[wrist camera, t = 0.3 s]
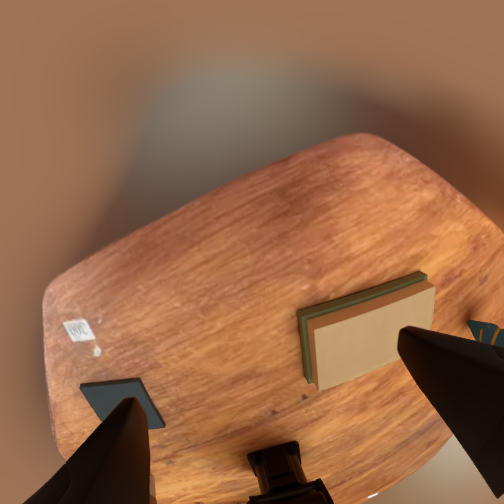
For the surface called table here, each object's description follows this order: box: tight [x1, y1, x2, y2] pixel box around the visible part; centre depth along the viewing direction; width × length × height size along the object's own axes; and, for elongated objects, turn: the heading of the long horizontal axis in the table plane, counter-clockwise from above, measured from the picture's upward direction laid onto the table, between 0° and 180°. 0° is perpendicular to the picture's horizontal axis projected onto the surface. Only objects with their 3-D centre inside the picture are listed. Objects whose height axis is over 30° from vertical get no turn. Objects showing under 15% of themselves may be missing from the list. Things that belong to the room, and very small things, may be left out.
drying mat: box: [79, 378, 165, 429], centre depth 24 cm, size 7×7×1 cm
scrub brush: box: [297, 271, 436, 391], centre depth 25 cm, size 8×14×3 cm, turn 101°
